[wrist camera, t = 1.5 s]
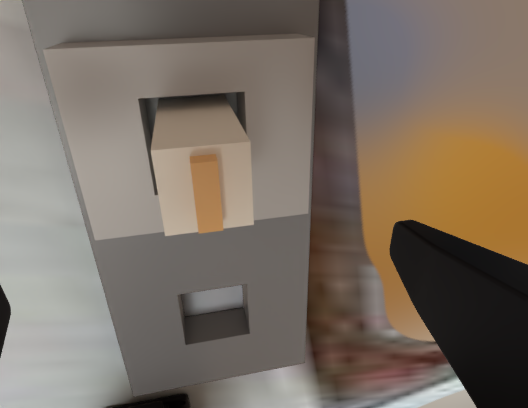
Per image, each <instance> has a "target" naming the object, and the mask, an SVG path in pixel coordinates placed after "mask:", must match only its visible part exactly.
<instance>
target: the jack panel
mask: <svg viewBox="0 0 528 408" xmlns="http://www.w3.org/2000/svg"><path fill="white" fill-rule="evenodd" d="M22 3H23V6H24V10H25V13H26V17H27V20H28V24H29V27H30V31H31V34H32V38H33V42H34V45H35V49H36V52H37V56H38V59H39V63H40V66H41V70H42V73H43V77H44V80H45V84H46V88H47V91H48V95H49V98H50V102H51V105H52V109H53V112H54V116H55V119H56V123H57V127H58V130H59V134H60V137H61V141H62V144H63V148H64V151H65V155H66V158H67V162H68V165H69V169H70V173H71V176H72V180H73V183H74V187H75V190H76V194H77V197H78V201H79V204H80V208H81V211H82V215H83V219H84V222H85V226H86V229H87V233H88V236H89V240H90V243H91V247H92V250H93V254H94V258H95V261H96V265H97V268H98V272H99V275H100V279H101V282H102V286H103V289H104V293H105V296H106V300H107V304H108V307H109V311H110V314H111V318H112V321H113V325H114V328H115V332H116V335H117V339H118V343H119V346H120V350H121V353H122V357H123V360H124V364H125V367H126V371H127V374H128V378H129V381H130V385H131V389H132V392H133V396H134V397H135V396H140V395H145V394H150V393H155V392H160V391H165V390H170V389H175V388H180V387H185V386H191V385H196V384H201V383H206V382H211V381H216V380H221V379H226V378H231V377H236V376H241V375H246V374H251V373H256V372H262V371H267V370H272V369H277V368H282V367H287V366H292V365H297V364H302V363H305V343H306V318H307V293H308V268H309V243H310V218H311V194H312V169H313V144H314V119H315V94H316V69H317V44H318V20H319V0H22ZM213 95H224V96H225V97H226V99H227V101H228V103H229V105H230V106H231V108H232V110H233V112H234V113H235V115H236V117H237V119H238V120H239V122H240V124H241V126H242V128H243V129H244V131H245V133H246V135H247V136H248V138H249V140H250V142H251V167H252V191H253V216H254V225H248V226H241V227H233V228H225V229H223V231H215V232H208V233H200V234H199V232H194V233H186V234H178V235H171V236H165V232H164V226H163V221H162V215H161V209H160V203H159V197H158V191H157V185H156V179H155V174H154V168H153V162H152V156H151V144H152V138H153V131H154V124H155V117H156V111H157V104H158V99H169V98H184V97H199V96H213ZM237 285H242V288H243V304H244V308H239V309H233V310H226V311H220V312H214V313H208V314H202V315H196V316H190V317H184V311H183V305H182V299H181V294H186V293H192V292H198V291H205V290H211V289H218V288H224V287H231V286H237Z"/></svg>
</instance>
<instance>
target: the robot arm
mask: <svg viewBox="0 0 528 408" xmlns="http://www.w3.org/2000/svg"><path fill="white" fill-rule="evenodd" d="M390 256H391V259H392V261H393V263H394V265H395V267H396V270H397V272H398V274H399V276H400V278H401V280H402V282H403V284H404V286H405V288H406V290H407V292H408V294H409V297H410V299H411V301H412V303H413V305H414V306H415V308H416V310H417V312H418V314H419V315H420V317H421V319H422V320H423V322H424V323H425V325H426V327H427V328H428V330H429V331H430V333H431V335H432V336H433V338H434V339H435V341H436V343H437V344H438V346H439V347H440V349H441V351H442V352H443V354H444V356H445V357H446V359H447V360H448V362H449V364H450V365H451V367H452V368H453V370H454V372H455V373H456V375H457V376H458V378H459V380H460V381H461V383H462V384H463V386H464V388H465V389H466V391H467V392H468V394H469V396H470V397H471V399H472V400H473V402H474V404H475V405H476V407H477V408H528V265H527V264H524V263H522V262H519V261H517V260H514V259H512V258H509V257H506V256H504V255H501V254H499V253H496V252H494V251H491V250H488V249H486V248H484V247H481V246H478V245H476V244H473V243H471V242H468V241H465V240H463V239H460V238H458V237H455V236H453V235H450V234H448V233H445V232H442V231H440V230H437V229H435V228H432V227H430V226H427V225H425V224H422V223H420V222H417V221H414V220H405V221H399V222H396V223H395V225H394V227H393V233H392V239H391V244H390ZM10 315H11V309H10V304H9V302H8V300H7V298H6V296H5V293H4V291H3V289H2V287H1V285H0V357H1V353H2V349H3V345H4V340H5V336H6V332H7V328H8V324H9V320H10ZM115 408H190V402H189V397H188V395H186V394H180V395H175V396H170V397H165V398H160V399H155V400H150V401H145V402H140V403H135V404H130V405H125V406H120V407H115Z"/></svg>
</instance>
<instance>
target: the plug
mask: <svg viewBox="0 0 528 408" xmlns="http://www.w3.org/2000/svg"><path fill="white" fill-rule="evenodd" d="M151 156H152V162H153V168H154V174H155V179H156V185H157V191H158V197H159V203H160V209H161V215H162V221H163V226H164V232H165V236H171V235H178V234H186V233H194V232H199V234H200V233H208V232H215V231H223V229H225V228H233V227H241V226H248V225H254V216H253V191H252V167H251V142H250V140H249V138H248V136H247V135H246V133H245V131H244V129H243V128H242V126H241V124H240V122H239V120H238V119H237V117H236V115H235V113H234V112H233V110H232V108H231V106H230V105H229V103H228V101H227V99H226V97H225V96H224V95H213V96H199V97H184V98H169V99H158V104H157V111H156V117H155V124H154V131H153V138H152V144H151Z"/></svg>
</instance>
